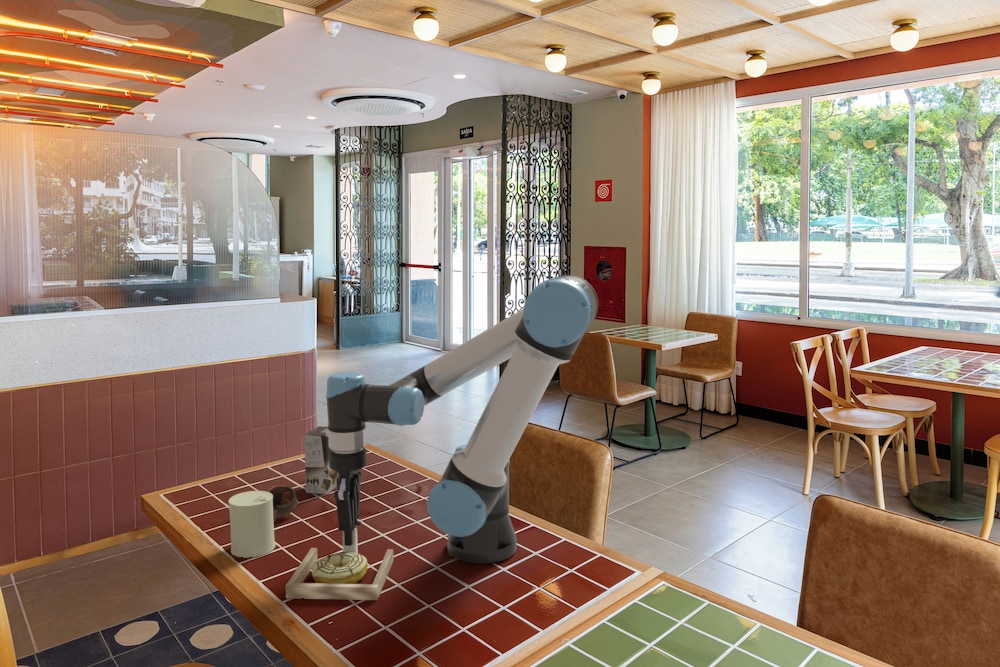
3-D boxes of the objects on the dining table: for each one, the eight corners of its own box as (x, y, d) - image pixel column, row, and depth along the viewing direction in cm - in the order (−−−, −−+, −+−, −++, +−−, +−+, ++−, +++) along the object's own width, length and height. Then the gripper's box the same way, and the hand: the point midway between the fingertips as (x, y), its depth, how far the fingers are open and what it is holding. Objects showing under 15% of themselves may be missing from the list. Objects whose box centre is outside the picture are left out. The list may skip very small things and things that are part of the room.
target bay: (393, 560, 148) (393, 549, 148) (377, 600, 132) (377, 587, 132) (311, 559, 149) (311, 547, 149) (285, 598, 133) (285, 585, 132)
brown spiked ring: (300, 506, 179) (304, 485, 174) (289, 536, 171) (293, 514, 166) (253, 496, 177) (255, 474, 173) (240, 526, 170) (242, 503, 165)
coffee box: (327, 495, 185) (325, 435, 183) (305, 493, 186) (302, 434, 184) (342, 483, 194) (340, 426, 192) (320, 481, 195) (318, 425, 193)
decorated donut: (323, 564, 147) (323, 547, 147) (373, 566, 146) (373, 549, 145) (304, 589, 137) (304, 570, 136) (358, 591, 136) (357, 573, 135)
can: (261, 559, 148) (258, 505, 147) (222, 555, 150) (219, 502, 149) (283, 541, 157) (280, 490, 156) (245, 537, 159) (243, 487, 158)
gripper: (337, 438, 150) (340, 543, 154) (319, 458, 137) (323, 571, 141) (372, 439, 150) (375, 544, 153) (358, 458, 137) (361, 572, 140)
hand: (350, 557), depth 147 cm, fingers closed
